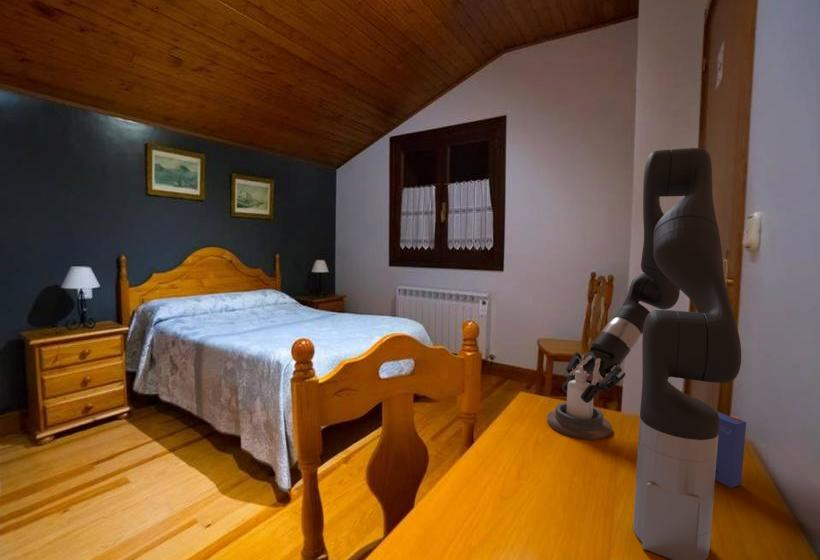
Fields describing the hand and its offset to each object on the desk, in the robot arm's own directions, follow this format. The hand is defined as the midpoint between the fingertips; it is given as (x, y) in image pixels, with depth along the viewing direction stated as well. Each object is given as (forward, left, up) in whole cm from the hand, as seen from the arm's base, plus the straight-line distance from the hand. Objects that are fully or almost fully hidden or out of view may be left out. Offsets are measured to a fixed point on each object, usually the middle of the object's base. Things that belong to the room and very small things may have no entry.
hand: (574, 395), depth 92 cm
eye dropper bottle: (+1, -1, -5) cm, 6 cm away
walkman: (-6, -26, -8) cm, 28 cm away
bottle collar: (+1, -1, -8) cm, 8 cm away
